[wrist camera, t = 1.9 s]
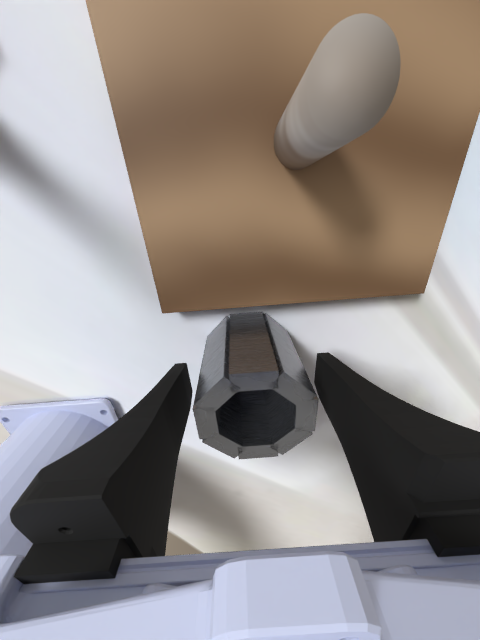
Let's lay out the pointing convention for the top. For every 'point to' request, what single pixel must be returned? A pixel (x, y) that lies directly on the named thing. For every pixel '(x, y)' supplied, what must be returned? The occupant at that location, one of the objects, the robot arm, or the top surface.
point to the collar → (253, 389)
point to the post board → (229, 166)
